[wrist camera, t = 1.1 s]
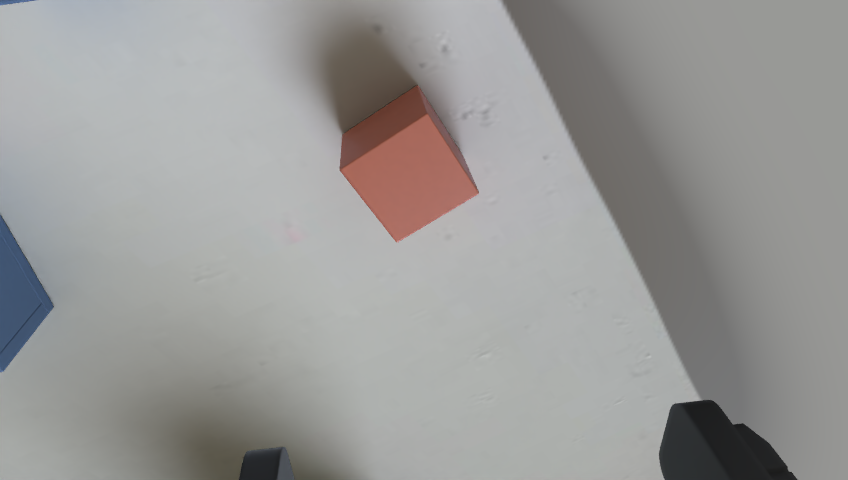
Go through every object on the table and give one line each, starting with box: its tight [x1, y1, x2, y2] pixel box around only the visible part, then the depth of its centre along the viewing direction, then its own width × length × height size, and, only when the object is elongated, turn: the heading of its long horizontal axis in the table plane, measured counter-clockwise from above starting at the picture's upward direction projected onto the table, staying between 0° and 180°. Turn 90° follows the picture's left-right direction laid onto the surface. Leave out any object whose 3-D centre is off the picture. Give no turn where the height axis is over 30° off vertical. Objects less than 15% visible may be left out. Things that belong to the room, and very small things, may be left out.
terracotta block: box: [340, 85, 479, 242], centre depth 23 cm, size 4×4×4 cm
